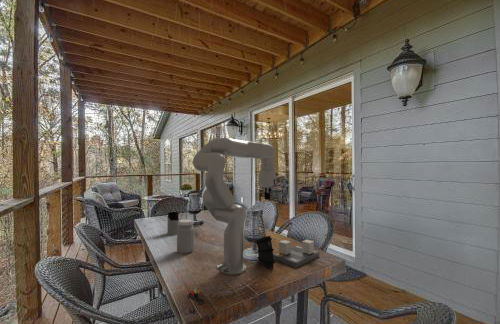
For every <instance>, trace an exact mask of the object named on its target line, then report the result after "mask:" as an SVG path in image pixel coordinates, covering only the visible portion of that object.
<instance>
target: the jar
mask: <svg viewBox="0 0 500 324" xmlns="http://www.w3.org/2000/svg"><path fill="white" fill-rule="evenodd" d="M178 224H179V226H178V227H179V228H178V229H177V235H176V251H177V252H178V253H179V254H182V255H186V254H187V255H188V254H191V253H193V252H194V250H195V227H194V220H193V219H190V218H187V219H186V218H185V219H184V218H183V219H182V218H181V220H180V219H179V221H178Z"/></svg>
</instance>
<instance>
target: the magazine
mask: <svg viewBox="0 0 500 324" xmlns="http://www.w3.org/2000/svg"><path fill="white" fill-rule="evenodd" d="M256 240H257V241H256V242H255V245H257V251H256V253H257V255H258V257H257V259H258V262H259V263H260V264H261V265H262V266H263V267H265V268H266V269H268V270H271V269H274V268H275V267H274V264H275V263H276V262H275V261H276V260H274V259H273V255H274V251H275V249H274V248H273V244H272V243H273V242H272V240H273V239H272V237H271V235H267V236H263V237H260V238H259V239H256Z"/></svg>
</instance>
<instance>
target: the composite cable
mask: <svg viewBox="0 0 500 324" xmlns="http://www.w3.org/2000/svg"><path fill="white" fill-rule="evenodd" d="M189 291H190V292H189V293H188V295H187V297H188V298H190V299H193V300H195V302H196V303H197V304H198V305H199V306H203V305H205V300H204V299H203V298H201V297H200V298H199V295H200V293H201V290H200V288H196V287H194V289H193V290H191V289H189Z"/></svg>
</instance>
